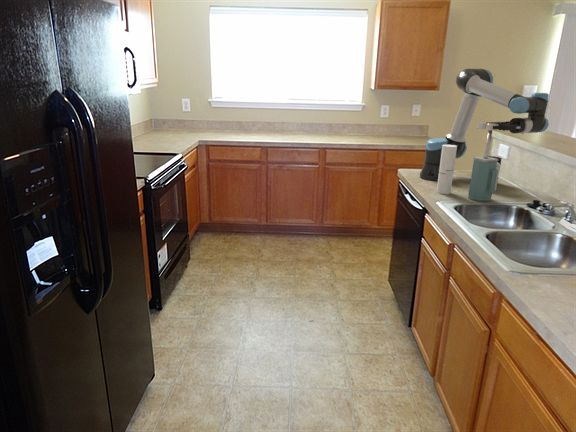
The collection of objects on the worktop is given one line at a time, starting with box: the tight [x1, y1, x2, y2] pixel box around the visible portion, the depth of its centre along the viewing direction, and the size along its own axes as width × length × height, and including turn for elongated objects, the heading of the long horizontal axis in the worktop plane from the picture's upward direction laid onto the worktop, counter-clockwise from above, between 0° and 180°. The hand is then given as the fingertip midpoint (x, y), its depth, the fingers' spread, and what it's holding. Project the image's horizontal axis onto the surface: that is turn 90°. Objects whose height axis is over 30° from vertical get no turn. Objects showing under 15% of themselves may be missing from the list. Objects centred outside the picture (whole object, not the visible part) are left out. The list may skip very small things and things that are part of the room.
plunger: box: [483, 123, 496, 159], centre depth 214 cm, size 7×7×25 cm
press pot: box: [467, 156, 498, 203], centre depth 217 cm, size 13×11×21 cm
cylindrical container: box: [436, 145, 457, 195], centre depth 229 cm, size 7×7×25 cm
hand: (482, 126), depth 208 cm, fingers open, 5 cm apart
